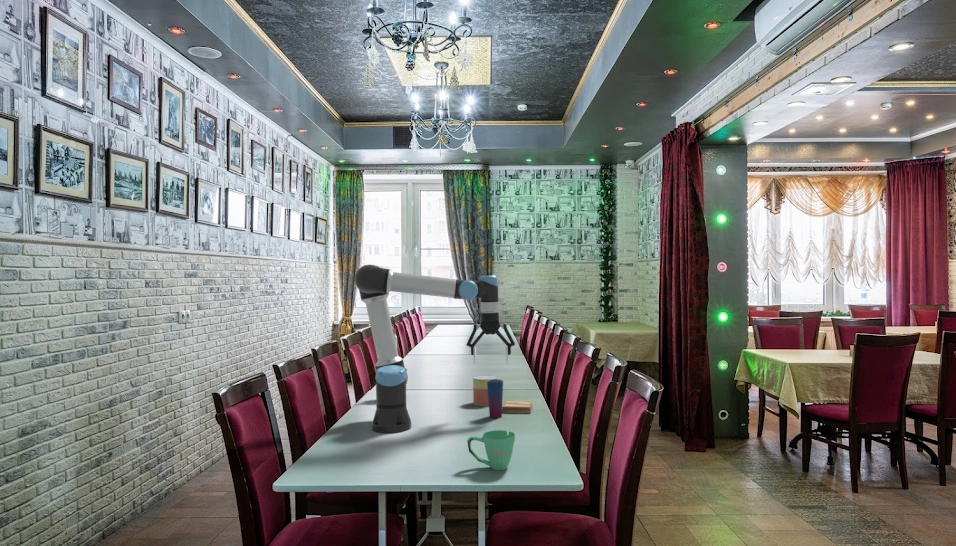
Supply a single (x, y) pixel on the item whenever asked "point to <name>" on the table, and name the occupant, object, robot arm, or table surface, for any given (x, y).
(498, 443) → the mug
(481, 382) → the canned food
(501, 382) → the cup
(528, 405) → the board
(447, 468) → the table surface
